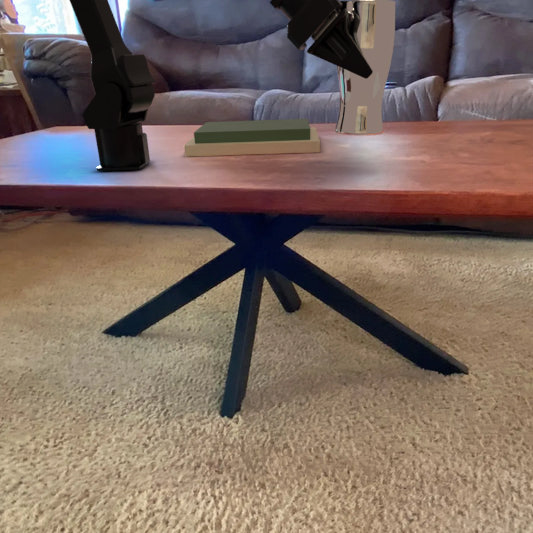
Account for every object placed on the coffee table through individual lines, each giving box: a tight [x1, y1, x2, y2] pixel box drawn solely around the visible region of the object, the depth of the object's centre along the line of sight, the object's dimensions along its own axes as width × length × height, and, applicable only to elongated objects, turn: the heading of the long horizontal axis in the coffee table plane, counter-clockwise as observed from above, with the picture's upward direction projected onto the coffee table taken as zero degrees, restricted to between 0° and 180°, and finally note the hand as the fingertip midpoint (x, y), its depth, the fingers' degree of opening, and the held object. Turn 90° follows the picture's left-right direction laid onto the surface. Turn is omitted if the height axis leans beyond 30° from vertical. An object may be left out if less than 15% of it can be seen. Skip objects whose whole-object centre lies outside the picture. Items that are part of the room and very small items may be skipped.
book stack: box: [183, 118, 321, 158], centre depth 89 cm, size 22×16×4 cm
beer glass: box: [334, 0, 397, 137], centre depth 63 cm, size 7×7×15 cm
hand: (372, 74), depth 63 cm, fingers closed on beer glass, 6 cm apart
